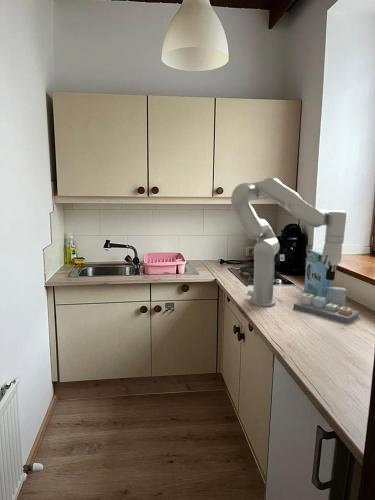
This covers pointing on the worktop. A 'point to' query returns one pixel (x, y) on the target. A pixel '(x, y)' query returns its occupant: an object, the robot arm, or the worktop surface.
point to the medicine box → (336, 296)
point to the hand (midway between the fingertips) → (329, 279)
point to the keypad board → (326, 312)
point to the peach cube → (345, 310)
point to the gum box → (316, 275)
